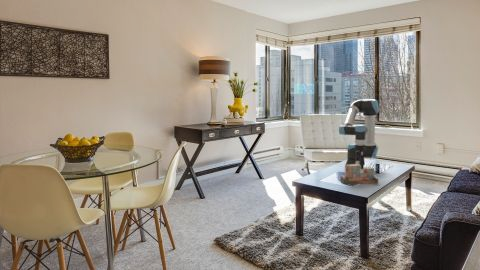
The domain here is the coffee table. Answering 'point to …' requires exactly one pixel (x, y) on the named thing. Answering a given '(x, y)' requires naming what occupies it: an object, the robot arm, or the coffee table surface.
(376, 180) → the base board
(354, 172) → the stack of blocks
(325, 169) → the coffee table surface
